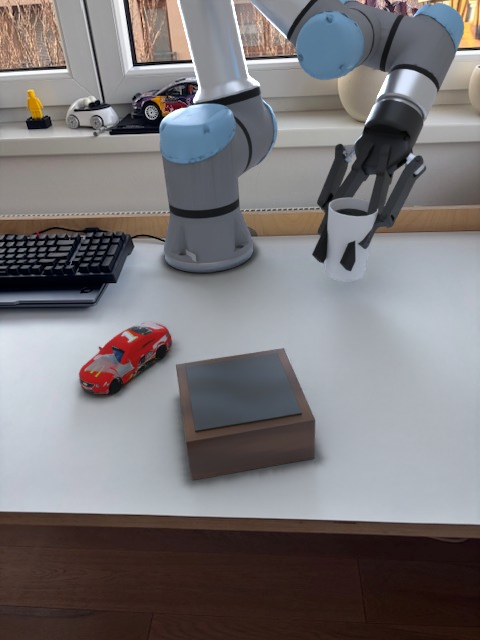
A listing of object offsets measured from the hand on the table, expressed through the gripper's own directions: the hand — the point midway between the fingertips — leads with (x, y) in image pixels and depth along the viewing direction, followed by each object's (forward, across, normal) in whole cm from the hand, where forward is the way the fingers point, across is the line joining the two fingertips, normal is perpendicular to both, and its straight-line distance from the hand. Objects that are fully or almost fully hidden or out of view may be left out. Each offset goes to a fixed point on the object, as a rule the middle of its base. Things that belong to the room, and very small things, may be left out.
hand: (331, 262), depth 75 cm
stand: (+24, -7, +15) cm, 29 cm away
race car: (+24, +12, +15) cm, 31 cm away
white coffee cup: (0, 0, -5) cm, 5 cm away
